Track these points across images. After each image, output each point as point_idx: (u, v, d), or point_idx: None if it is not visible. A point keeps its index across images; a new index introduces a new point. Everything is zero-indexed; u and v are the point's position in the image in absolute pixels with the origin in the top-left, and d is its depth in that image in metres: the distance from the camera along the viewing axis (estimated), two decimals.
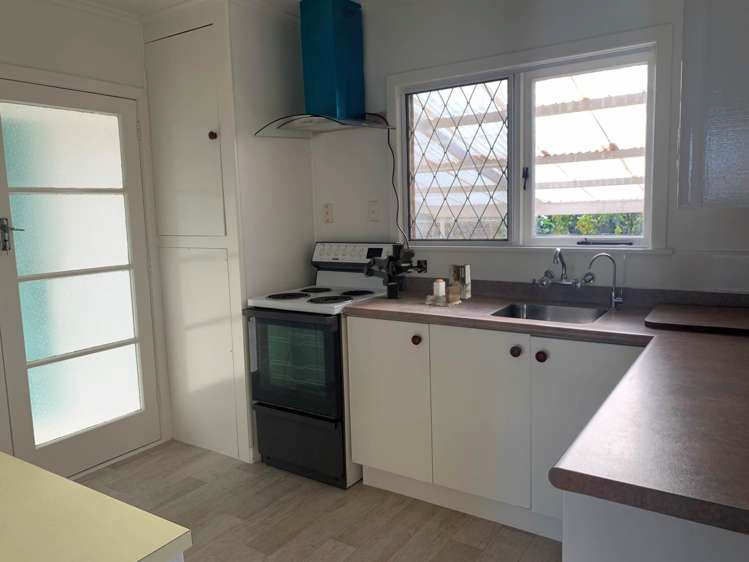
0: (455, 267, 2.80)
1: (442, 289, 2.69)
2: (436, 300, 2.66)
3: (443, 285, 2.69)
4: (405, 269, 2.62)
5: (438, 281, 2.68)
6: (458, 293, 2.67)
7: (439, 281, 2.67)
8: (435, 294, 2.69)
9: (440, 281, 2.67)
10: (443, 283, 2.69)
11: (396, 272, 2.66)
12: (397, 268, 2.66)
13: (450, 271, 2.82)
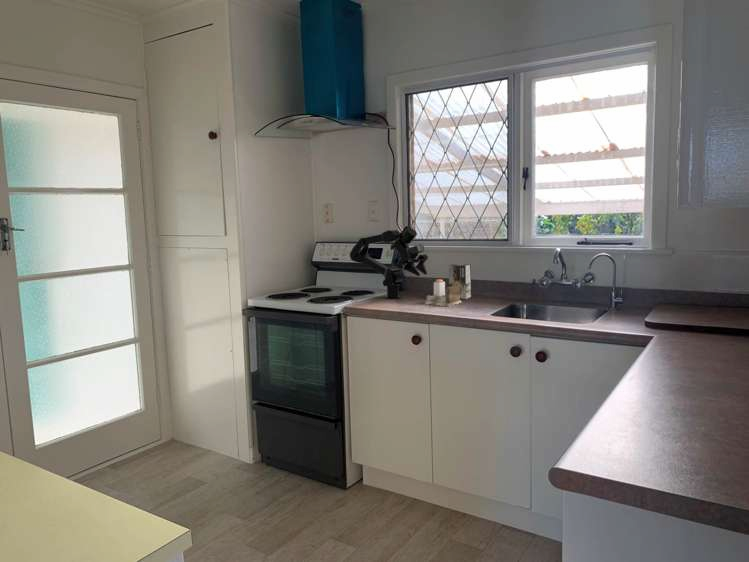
0: (455, 267, 2.80)
1: (442, 289, 2.69)
2: (436, 300, 2.66)
3: (443, 285, 2.69)
4: (416, 273, 2.73)
5: (438, 281, 2.68)
6: (458, 293, 2.67)
7: (439, 281, 2.67)
8: (435, 294, 2.69)
9: (440, 281, 2.67)
10: (443, 283, 2.69)
11: (406, 268, 2.74)
12: (408, 265, 2.73)
13: (450, 271, 2.82)
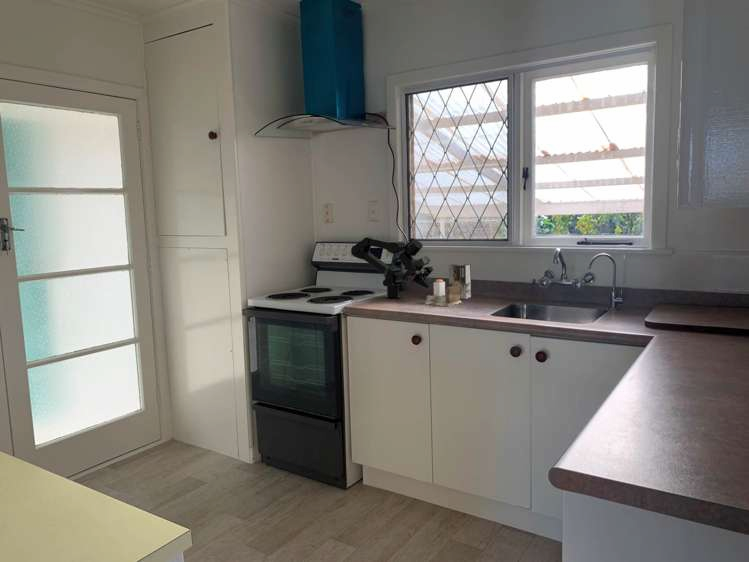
0: (455, 267, 2.80)
1: (442, 289, 2.69)
2: (436, 300, 2.66)
3: (443, 285, 2.69)
4: (425, 285, 2.73)
5: (438, 281, 2.68)
6: (458, 293, 2.67)
7: (439, 281, 2.67)
8: (435, 294, 2.69)
9: (440, 281, 2.67)
10: (443, 283, 2.69)
11: (414, 279, 2.75)
12: (417, 277, 2.74)
13: (450, 271, 2.82)
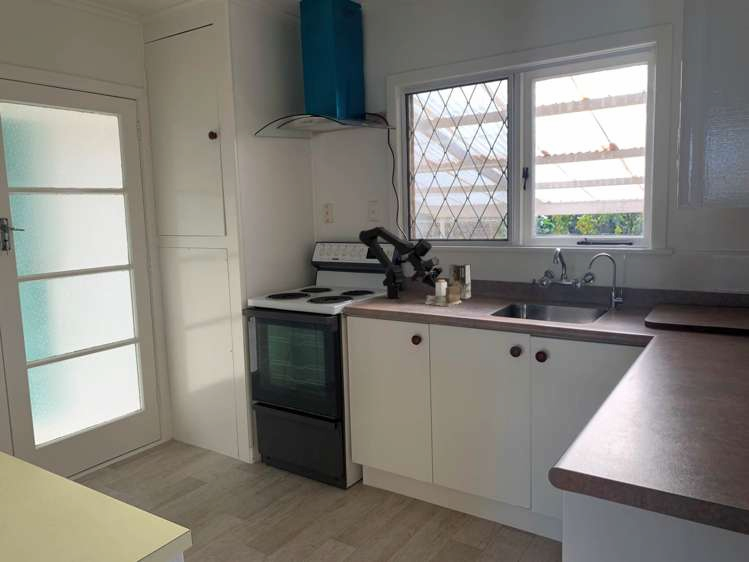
0: (455, 267, 2.80)
1: (444, 289, 2.68)
2: (436, 300, 2.66)
3: (445, 285, 2.68)
4: (435, 286, 2.70)
5: (440, 281, 2.67)
6: (458, 293, 2.67)
7: (441, 281, 2.67)
8: (437, 294, 2.68)
9: (442, 281, 2.67)
10: (445, 283, 2.68)
11: (424, 280, 2.71)
12: (427, 278, 2.71)
13: (450, 271, 2.82)
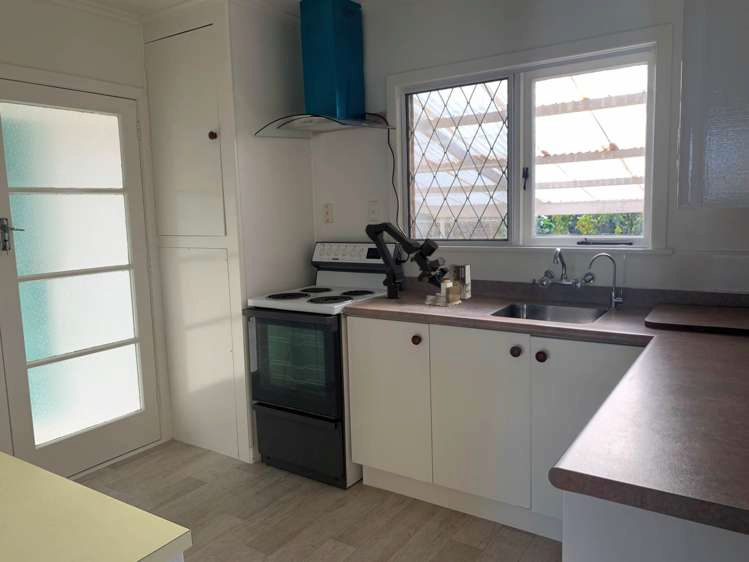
0: (455, 267, 2.80)
1: None
2: (436, 300, 2.66)
3: (450, 285, 2.66)
4: None
5: (446, 282, 2.65)
6: (458, 293, 2.67)
7: (447, 282, 2.65)
8: (442, 295, 2.66)
9: (448, 282, 2.65)
10: (451, 284, 2.66)
11: (429, 281, 2.69)
12: (432, 278, 2.68)
13: (450, 271, 2.82)
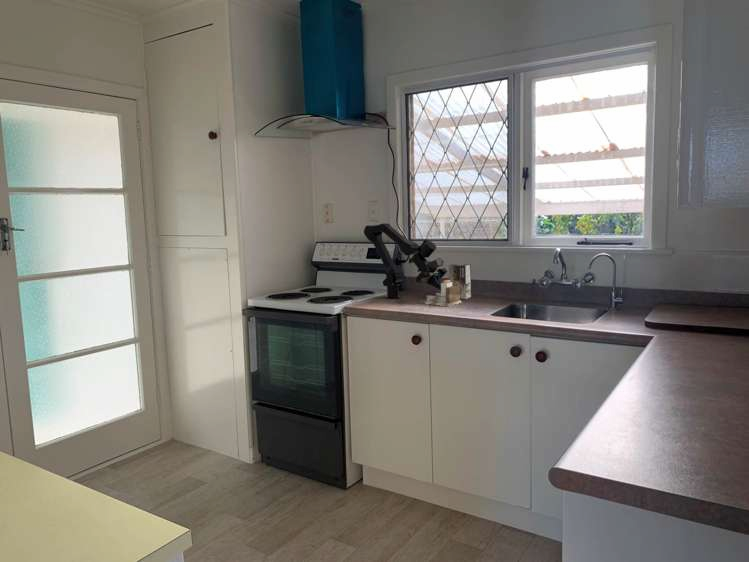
0: (455, 267, 2.80)
1: None
2: (436, 300, 2.66)
3: (450, 285, 2.66)
4: (439, 287, 2.68)
5: (445, 282, 2.65)
6: (458, 293, 2.67)
7: (446, 282, 2.65)
8: (442, 295, 2.66)
9: (447, 282, 2.65)
10: (450, 284, 2.66)
11: (428, 281, 2.70)
12: (431, 279, 2.69)
13: (450, 271, 2.82)
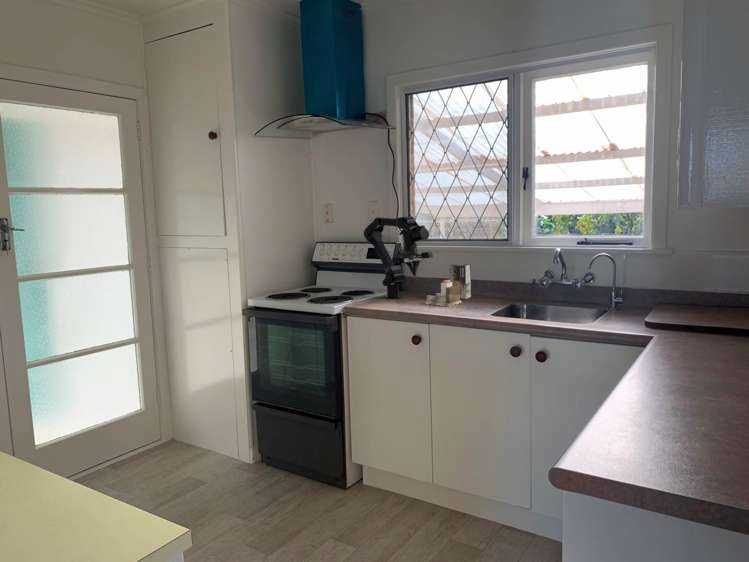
0: (455, 267, 2.80)
1: None
2: (436, 300, 2.66)
3: (450, 285, 2.66)
4: None
5: (445, 282, 2.65)
6: (458, 293, 2.67)
7: (446, 282, 2.65)
8: (442, 295, 2.66)
9: (447, 282, 2.65)
10: (450, 284, 2.66)
11: None
12: None
13: (450, 271, 2.82)
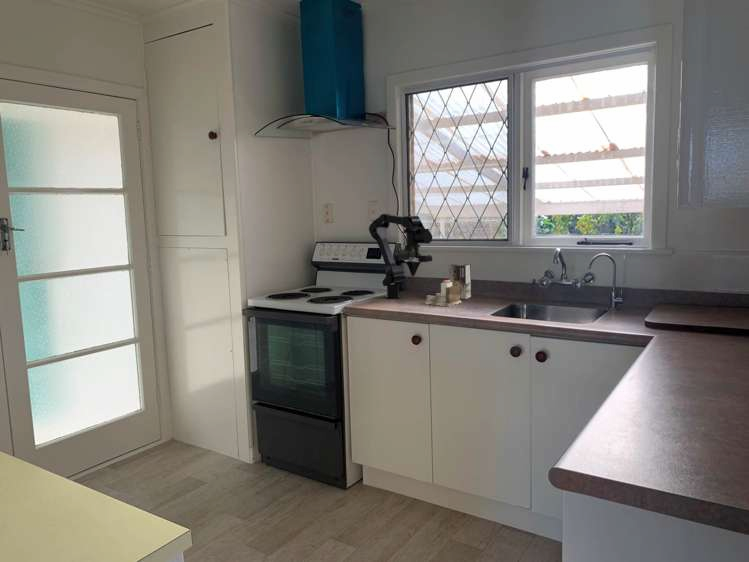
0: (455, 267, 2.80)
1: None
2: (436, 300, 2.66)
3: (450, 285, 2.66)
4: None
5: (445, 282, 2.65)
6: (458, 293, 2.67)
7: (446, 282, 2.65)
8: (442, 295, 2.66)
9: (447, 282, 2.65)
10: (450, 284, 2.66)
11: None
12: None
13: (450, 271, 2.82)
